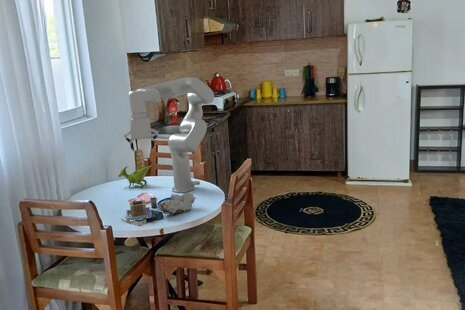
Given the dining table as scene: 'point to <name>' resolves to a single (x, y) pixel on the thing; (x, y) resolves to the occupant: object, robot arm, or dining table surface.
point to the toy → (135, 176)
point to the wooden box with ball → (138, 208)
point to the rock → (177, 204)
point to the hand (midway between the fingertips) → (143, 149)
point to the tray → (128, 213)
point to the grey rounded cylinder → (153, 202)
